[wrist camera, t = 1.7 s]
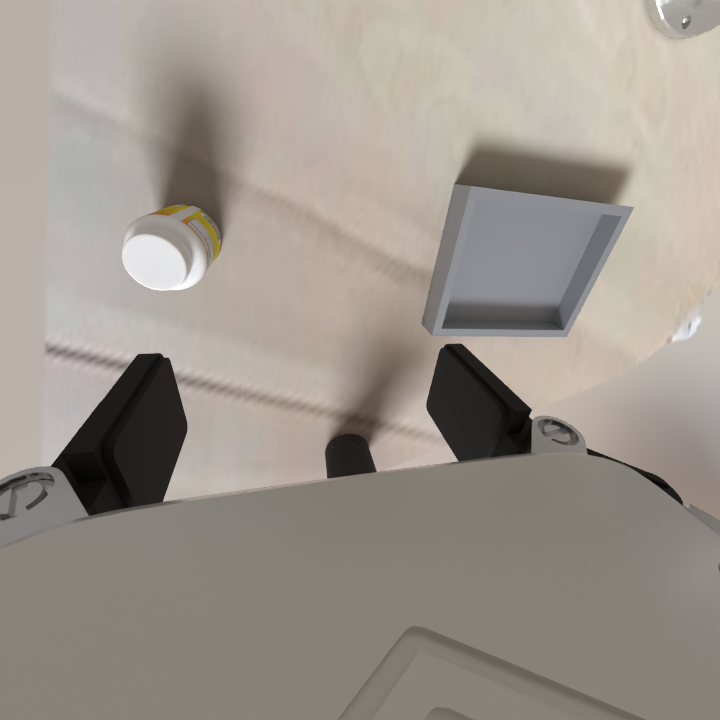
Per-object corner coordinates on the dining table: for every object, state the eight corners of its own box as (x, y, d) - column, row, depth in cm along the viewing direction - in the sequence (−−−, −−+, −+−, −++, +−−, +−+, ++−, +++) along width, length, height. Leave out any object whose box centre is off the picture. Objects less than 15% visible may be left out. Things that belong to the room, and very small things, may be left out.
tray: (454, 184, 32) (471, 186, 29) (606, 203, 36) (634, 207, 33) (421, 323, 40) (431, 336, 37) (548, 325, 44) (566, 336, 42)
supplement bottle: (152, 245, 29) (97, 278, 21) (169, 190, 27) (116, 201, 19) (212, 274, 32) (184, 313, 23) (232, 224, 30) (210, 248, 21)
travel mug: (377, 448, 52) (420, 582, 35) (342, 471, 53) (366, 610, 36) (351, 425, 47) (385, 564, 31) (313, 450, 49) (326, 597, 32)
